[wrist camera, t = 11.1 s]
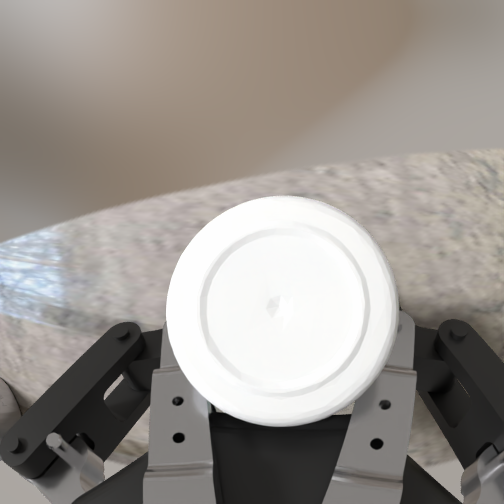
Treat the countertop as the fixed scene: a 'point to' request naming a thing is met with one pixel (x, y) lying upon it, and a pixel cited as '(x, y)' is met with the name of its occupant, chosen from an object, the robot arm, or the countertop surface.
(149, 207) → the countertop surface
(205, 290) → the sprinkles bottle
